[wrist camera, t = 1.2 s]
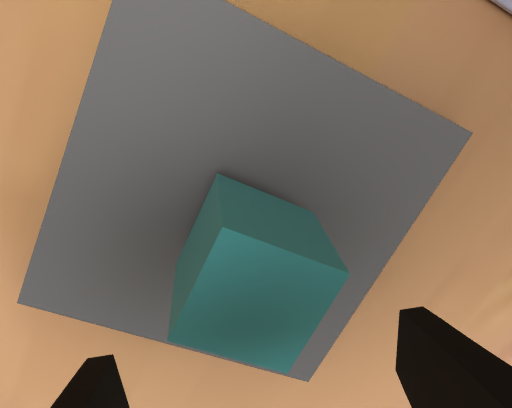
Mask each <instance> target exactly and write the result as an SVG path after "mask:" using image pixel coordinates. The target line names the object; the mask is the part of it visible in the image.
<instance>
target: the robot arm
mask: <svg viewBox="0 0 512 408" xmlns="http://www.w3.org/2000/svg"><path fill="white" fill-rule="evenodd" d="M491 1H492V2H494V3H495V4H497V5H498V6H500V7H501V8H503V9H504V10H506V11H507V12H509V13H510V14H512V0H491ZM396 372H397V375H398V377H399V379H400V382H401V384H402V387H403V389H404V391H405V394H406V396H407V398H408V400H409V402H410V405H411V407H412V408H512V366H510V365H509V364H507V363H506V362H504V361H503V360H501V359H500V358H498V357H497V356H495V355H494V354H492V353H491V352H489V351H488V350H486V349H485V348H483V347H482V346H480V345H479V344H477V343H476V342H474V341H473V340H471V339H470V338H468V337H467V336H465V335H464V334H462V333H461V332H460V331H458V330H457V329H455V328H454V327H452V326H451V325H449V324H448V323H447V322H445V321H444V320H442V319H441V318H439V317H438V316H436V315H435V314H433V313H432V312H430V311H429V310H427V309H426V308H424V307H416V308H410V309H403V310H400V313H399V327H398V342H397V356H396ZM50 408H129V404H128V401H127V398H126V395H125V391H124V388H123V385H122V382H121V378H120V375H119V372H118V369H117V365H116V362H115V359H114V356H113V354H112V355H106V356H99V357H93V358H87V360H86V361H85V362H84V363H83V365H82V366H81V367H80V369H79V370H78V371H77V373H76V374H75V375H74V377H73V378H72V379H71V381H70V382H69V383H68V385H67V386H66V387H65V389H64V390H63V391H62V393H61V394H60V395H59V397H58V398H57V399H56V401H55V402H54V403H53V405H52V406H51V407H50Z"/></svg>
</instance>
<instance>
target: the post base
mask: <svg viewBox="0 0 512 408" xmlns="http://www.w3.org/2000/svg"><path fill="white" fill-rule="evenodd" d="M471 135H472V132H470V131H468V130H466V129H464V128H463V127H461V126H459V125H457V124H455V123H453V122H451V121H449V120H448V119H446V118H444V117H442V116H440V115H438V114H436V113H434V112H433V111H431V110H429V109H427V108H425V107H423V106H421V105H419V104H418V103H416V102H414V101H412V100H410V99H408V98H406V97H404V96H403V95H401V94H399V93H397V92H395V91H393V90H391V89H389V88H388V87H386V86H384V85H382V84H380V83H378V82H376V81H374V80H373V79H371V78H369V77H367V76H365V75H363V74H361V73H359V72H358V71H356V70H354V69H352V68H350V67H348V66H346V65H344V64H343V63H341V62H339V61H337V60H335V59H333V58H331V57H329V56H328V55H326V54H324V53H322V52H320V51H318V50H316V49H314V48H313V47H311V46H309V45H307V44H305V43H303V42H301V41H299V40H298V39H296V38H294V37H292V36H290V35H288V34H286V33H284V32H283V31H281V30H279V29H277V28H275V27H273V26H271V25H269V24H268V23H266V22H264V21H262V20H260V19H258V18H256V17H254V16H253V15H251V14H249V13H247V12H245V11H243V10H241V9H239V8H238V7H236V6H234V5H232V4H230V3H228V2H226V1H224V0H112V4H111V7H110V10H109V13H108V16H107V19H106V23H105V26H104V29H103V32H102V35H101V38H100V42H99V45H98V48H97V51H96V54H95V57H94V61H93V64H92V67H91V70H90V73H89V76H88V80H87V83H86V86H85V89H84V92H83V95H82V99H81V102H80V105H79V108H78V111H77V115H76V118H75V121H74V124H73V127H72V130H71V134H70V137H69V140H68V143H67V146H66V149H65V153H64V156H63V159H62V162H61V165H60V168H59V172H58V175H57V178H56V181H55V184H54V187H53V191H52V194H51V197H50V200H49V203H48V206H47V210H46V213H45V216H44V219H43V222H42V225H41V229H40V232H39V235H38V238H37V241H36V244H35V248H34V251H33V254H32V257H31V260H30V263H29V267H28V270H27V273H26V276H25V279H24V283H23V286H22V289H21V292H20V295H19V298H18V302H17V303H19V304H23V305H26V306H30V307H34V308H37V309H41V310H45V311H48V312H52V313H56V314H59V315H63V316H67V317H70V318H74V319H78V320H82V321H85V322H89V323H93V324H96V325H100V326H104V327H107V328H111V329H115V330H118V331H122V332H126V333H130V334H133V335H137V336H141V337H144V338H148V339H152V340H155V341H159V342H163V343H166V344H170V345H174V346H177V347H181V348H185V349H189V350H192V351H196V352H200V353H203V354H207V355H211V356H214V357H218V358H222V359H225V360H229V361H233V362H236V363H240V364H244V365H248V366H251V367H255V368H259V369H262V370H266V371H270V372H273V373H277V374H281V375H284V376H288V377H292V378H295V379H299V380H303V381H307V382H309V380H310V379H311V377H312V376H313V374H314V373H315V371H316V370H317V368H318V367H319V365H320V364H321V362H322V360H323V359H324V357H325V356H326V354H327V353H328V351H329V350H330V348H331V347H332V345H333V344H334V342H335V341H336V339H337V338H338V336H339V335H340V333H341V332H342V330H343V329H344V327H345V326H346V324H347V323H348V321H349V320H350V318H351V317H352V315H353V314H354V312H355V311H356V309H357V308H358V306H359V304H360V303H361V301H362V300H363V298H364V297H365V295H366V294H367V292H368V291H369V289H370V288H371V286H372V285H373V283H374V282H375V280H376V279H377V277H378V276H379V274H380V273H381V271H382V270H383V268H384V267H385V265H386V264H387V262H388V261H389V259H390V258H391V256H392V255H393V253H394V251H395V250H396V248H397V247H398V245H399V244H400V242H401V241H402V239H403V238H404V236H405V235H406V233H407V232H408V230H409V229H410V227H411V226H412V224H413V223H414V221H415V220H416V218H417V217H418V215H419V214H420V212H421V211H422V209H423V208H424V206H425V205H426V203H427V202H428V200H429V199H430V197H431V195H432V194H433V192H434V191H435V189H436V188H437V186H438V185H439V183H440V182H441V180H442V179H443V177H444V176H445V174H446V173H447V171H448V170H449V168H450V167H451V165H452V164H453V162H454V161H455V159H456V158H457V156H458V155H459V153H460V152H461V150H462V149H463V147H464V146H465V144H466V142H467V141H468V139H469V138H470V136H471ZM217 173H218V174H221V175H223V176H225V177H228V178H230V179H233V180H235V181H238V182H240V183H243V184H245V185H248V186H250V187H253V188H255V189H258V190H260V191H262V192H265V193H267V194H270V195H272V196H275V197H277V198H280V199H282V200H285V201H287V202H290V203H292V204H295V205H297V206H300V207H302V208H304V209H307V210H309V211H312V212H314V214H315V216H316V217H317V219H318V221H319V222H320V224H321V226H322V227H323V229H324V231H325V232H326V234H327V236H328V237H329V239H330V241H331V242H332V244H333V246H334V247H335V249H336V251H337V252H338V254H339V256H340V257H341V259H342V261H343V262H344V264H345V266H346V267H347V269H348V271H349V272H350V275H349V277H348V279H347V280H346V282H345V283H344V285H343V287H342V288H341V290H340V291H339V293H338V294H337V296H336V298H335V299H334V301H333V302H332V304H331V306H330V307H329V309H328V310H327V312H326V313H325V315H324V317H323V318H322V320H321V321H320V323H319V324H318V326H317V328H316V329H315V331H314V332H313V334H312V336H311V337H310V339H309V340H308V342H307V343H306V345H305V347H304V348H303V350H302V351H301V353H300V355H299V356H298V358H297V359H296V361H295V362H294V364H293V366H292V367H291V369H290V370H289V372H288V374H287V373H283V372H279V371H276V370H272V369H268V368H265V367H261V366H257V365H254V364H250V363H246V362H243V361H239V360H235V359H232V358H228V357H224V356H221V355H217V354H213V353H210V352H206V351H202V350H199V349H195V348H191V347H188V346H184V345H180V344H177V343H173V342H169V341H167V338H168V330H169V321H170V312H171V304H172V295H173V286H174V278H175V269H176V262H177V260H178V258H179V256H180V254H181V251H182V249H183V247H184V245H185V243H186V241H187V238H188V236H189V234H190V232H191V230H192V227H193V225H194V223H195V221H196V219H197V216H198V214H199V212H200V210H201V208H202V206H203V203H204V201H205V199H206V197H207V195H208V192H209V190H210V188H211V186H212V184H213V181H214V179H215V177H216V175H217Z"/></svg>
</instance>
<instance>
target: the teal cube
mask: <svg viewBox="0 0 512 408" xmlns="http://www.w3.org/2000/svg"><path fill="white" fill-rule="evenodd" d="M349 275H350V272H349V271H348V269H347V267H346V266H345V264H344V262H343V261H342V259H341V257H340V256H339V254H338V252H337V251H336V249H335V247H334V246H333V244H332V242H331V241H330V239H329V237H328V236H327V234H326V232H325V231H324V229H323V227H322V226H321V224H320V222H319V221H318V219H317V217H316V216H315V214H314V212H312V211H309V210H307V209H304V208H302V207H300V206H297V205H295V204H292V203H290V202H287V201H285V200H282V199H280V198H277V197H275V196H272V195H270V194H267V193H265V192H262V191H260V190H258V189H255V188H253V187H250V186H248V185H245V184H243V183H240V182H238V181H235V180H233V179H230V178H228V177H225V176H223V175H221V174H218V173H217V175H216V177H215V179H214V181H213V184H212V186H211V188H210V190H209V192H208V195H207V197H206V199H205V201H204V203H203V206H202V208H201V210H200V212H199V214H198V216H197V219H196V221H195V223H194V225H193V227H192V230H191V232H190V234H189V236H188V238H187V241H186V243H185V245H184V247H183V249H182V251H181V254H180V256H179V258H178V260H177V262H176V269H175V278H174V286H173V295H172V304H171V312H170V321H169V330H168V338H167V341H169V342H173V343H177V344H180V345H184V346H188V347H191V348H195V349H199V350H202V351H206V352H210V353H213V354H217V355H221V356H224V357H228V358H232V359H235V360H239V361H243V362H246V363H250V364H254V365H257V366H261V367H265V368H268V369H272V370H276V371H279V372H283V373H287V374H288V372H289V370H290V369H291V367H292V366H293V364H294V362H295V361H296V359H297V358H298V356H299V355H300V353H301V351H302V350H303V348H304V347H305V345H306V343H307V342H308V340H309V339H310V337H311V336H312V334H313V332H314V331H315V329H316V328H317V326H318V324H319V323H320V321H321V320H322V318H323V317H324V315H325V313H326V312H327V310H328V309H329V307H330V306H331V304H332V302H333V301H334V299H335V298H336V296H337V294H338V293H339V291H340V290H341V288H342V287H343V285H344V283H345V282H346V280H347V279H348V277H349Z"/></svg>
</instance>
